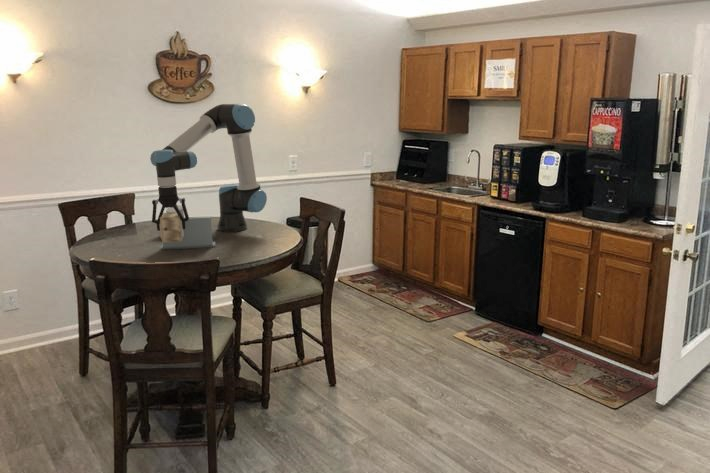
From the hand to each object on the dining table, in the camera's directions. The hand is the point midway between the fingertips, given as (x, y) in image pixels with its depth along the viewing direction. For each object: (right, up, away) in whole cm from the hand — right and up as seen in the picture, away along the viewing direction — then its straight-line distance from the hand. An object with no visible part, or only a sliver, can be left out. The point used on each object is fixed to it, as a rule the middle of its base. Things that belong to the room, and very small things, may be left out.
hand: (172, 237), depth 257 cm
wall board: (+3, -5, +14) cm, 15 cm away
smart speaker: (-10, +2, +40) cm, 42 cm away
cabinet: (0, -1, +2) cm, 2 cm away
